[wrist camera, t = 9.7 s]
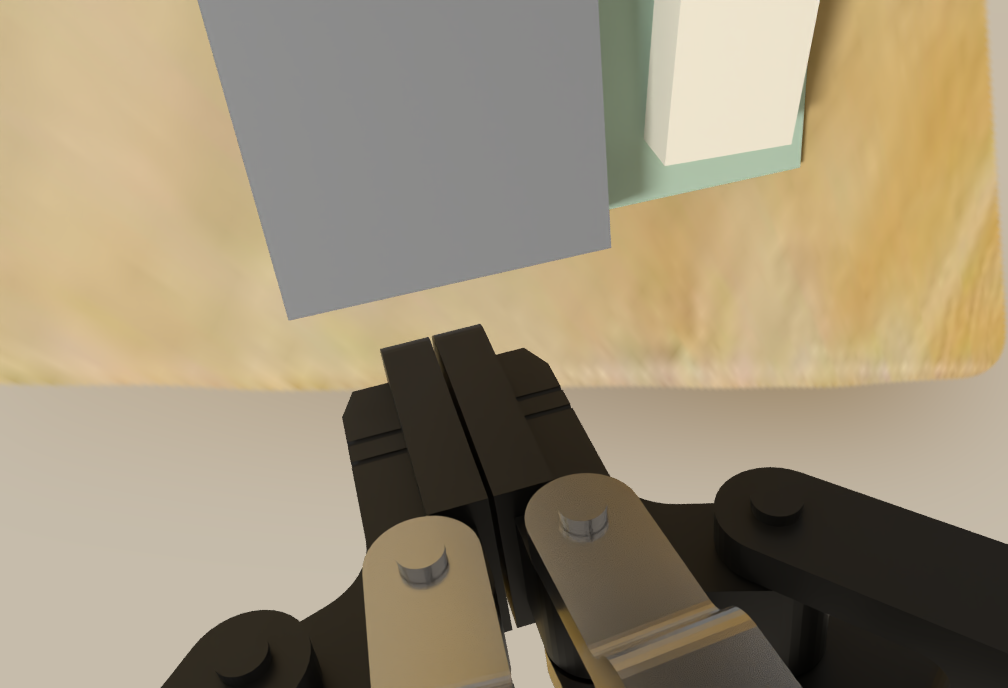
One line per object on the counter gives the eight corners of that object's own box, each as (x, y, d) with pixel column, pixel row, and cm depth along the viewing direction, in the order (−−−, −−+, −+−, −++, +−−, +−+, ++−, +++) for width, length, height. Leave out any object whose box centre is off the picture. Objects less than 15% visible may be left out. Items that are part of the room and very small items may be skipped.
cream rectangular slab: (833, -69, 35) (788, -95, 37) (685, -50, 34) (649, -78, 36) (791, 144, 41) (755, 108, 43) (664, 166, 40) (635, 128, 42)
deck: (172, -121, 32) (166, -109, 29) (553, -178, 34) (589, -173, 31) (283, 276, 41) (288, 320, 38) (581, 211, 43) (611, 247, 40)
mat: (553, -178, 34) (557, -178, 34) (822, -219, 36) (827, -219, 36) (581, 211, 43) (584, 214, 43) (795, 164, 45) (800, 167, 44)
